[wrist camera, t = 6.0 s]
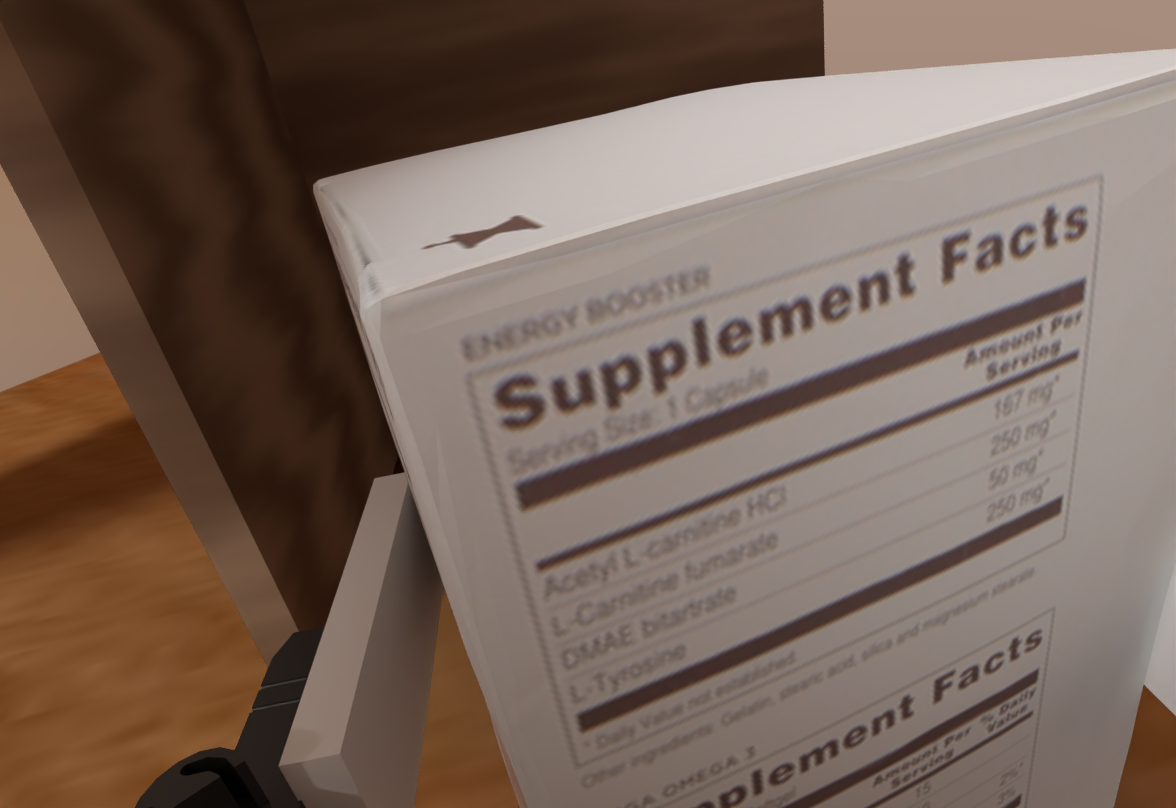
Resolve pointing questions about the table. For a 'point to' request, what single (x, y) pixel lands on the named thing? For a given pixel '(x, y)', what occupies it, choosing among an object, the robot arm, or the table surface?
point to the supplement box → (795, 430)
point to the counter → (297, 213)
